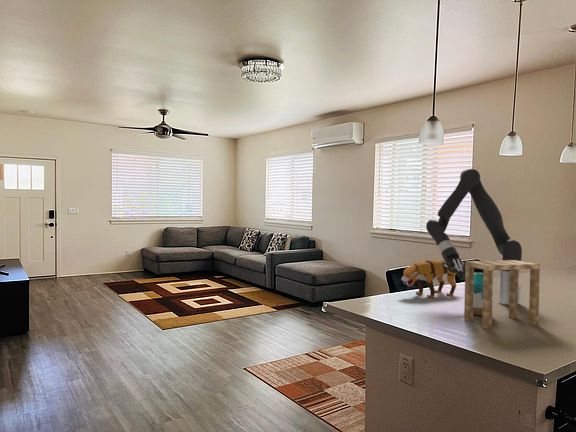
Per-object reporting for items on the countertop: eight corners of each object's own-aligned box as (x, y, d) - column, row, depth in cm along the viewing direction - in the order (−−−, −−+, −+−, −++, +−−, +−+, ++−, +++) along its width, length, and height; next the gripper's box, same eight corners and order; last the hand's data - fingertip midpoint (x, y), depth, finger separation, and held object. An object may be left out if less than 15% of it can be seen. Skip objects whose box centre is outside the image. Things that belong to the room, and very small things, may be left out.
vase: (493, 318, 195) (494, 275, 195) (468, 316, 197) (469, 274, 197) (487, 312, 205) (488, 272, 205) (464, 311, 207) (464, 271, 207)
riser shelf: (513, 316, 198) (514, 259, 197) (538, 325, 184) (539, 264, 184) (464, 320, 191) (465, 261, 190) (486, 329, 178) (487, 265, 177)
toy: (395, 295, 243) (395, 259, 242) (450, 291, 258) (450, 257, 258) (409, 300, 231) (410, 262, 231) (466, 295, 247) (466, 259, 246)
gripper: (440, 246, 219) (454, 274, 207) (462, 246, 222) (478, 274, 211) (433, 255, 224) (447, 283, 213) (455, 255, 228) (470, 283, 216)
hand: (462, 278), depth 212 cm, fingers closed
